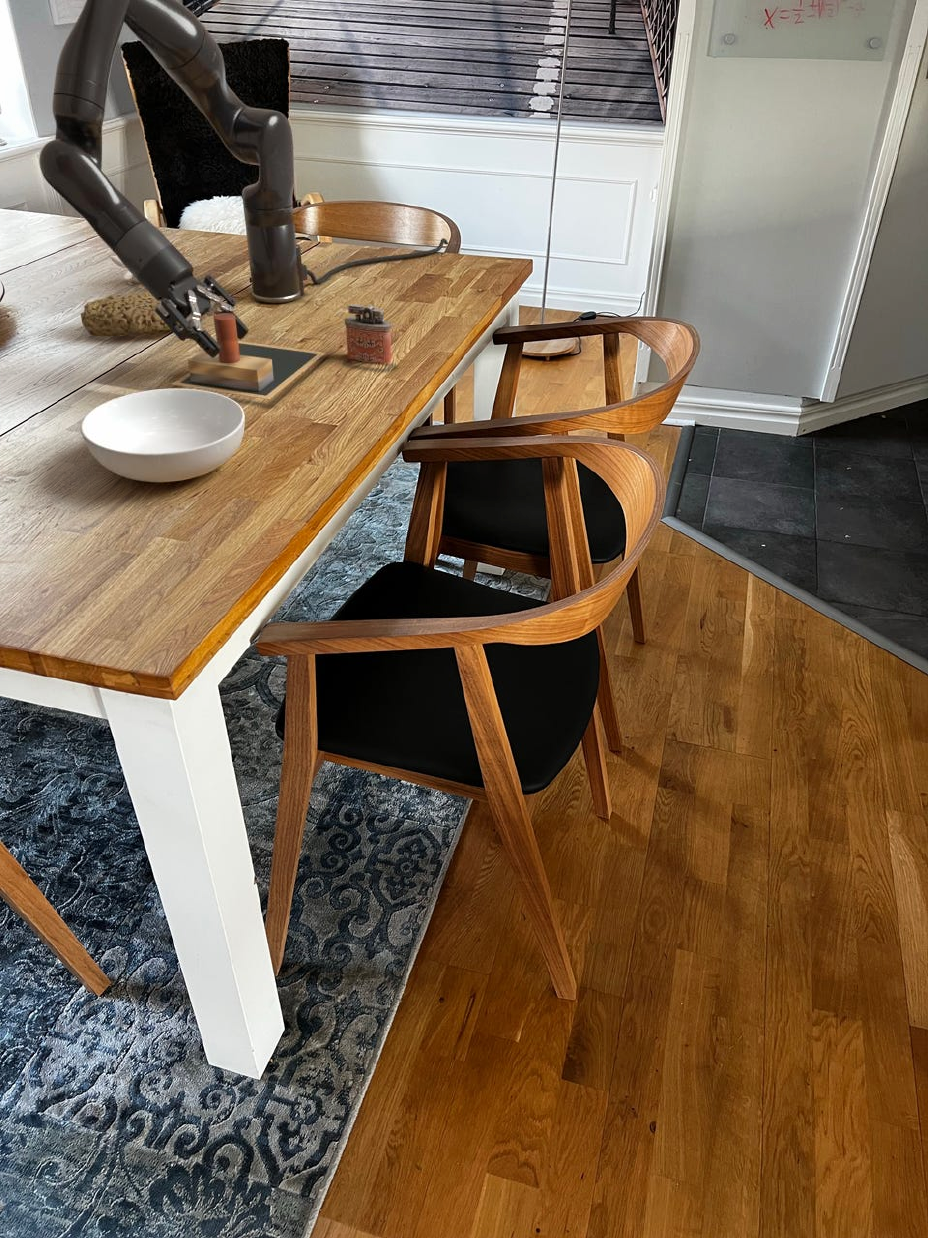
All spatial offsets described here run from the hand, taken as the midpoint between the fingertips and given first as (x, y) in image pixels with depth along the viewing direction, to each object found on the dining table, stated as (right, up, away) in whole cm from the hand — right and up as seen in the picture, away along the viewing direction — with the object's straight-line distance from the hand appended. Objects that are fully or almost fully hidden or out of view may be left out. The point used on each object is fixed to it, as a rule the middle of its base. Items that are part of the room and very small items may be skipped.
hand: (231, 344), depth 147 cm
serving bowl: (-4, -22, -18) cm, 28 cm away
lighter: (+20, 0, +13) cm, 24 cm away
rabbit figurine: (-32, +26, +47) cm, 62 cm away
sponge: (-21, +9, +25) cm, 34 cm away
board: (+1, -2, +9) cm, 9 cm away
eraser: (-1, -5, +4) cm, 6 cm away
